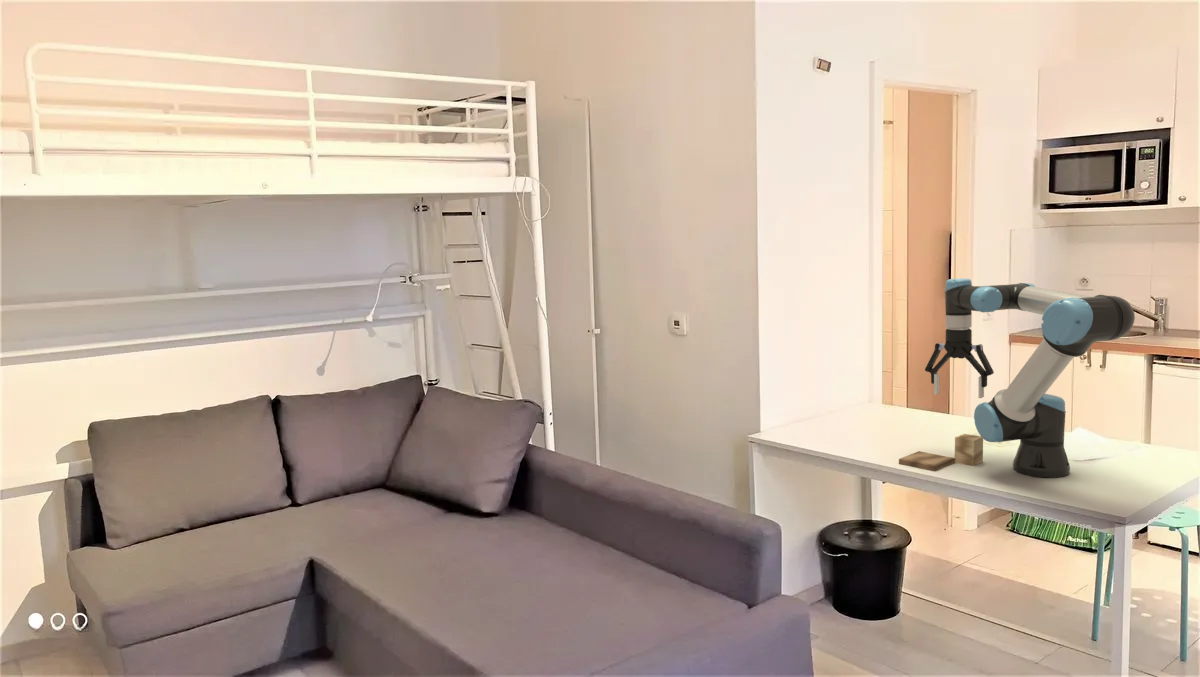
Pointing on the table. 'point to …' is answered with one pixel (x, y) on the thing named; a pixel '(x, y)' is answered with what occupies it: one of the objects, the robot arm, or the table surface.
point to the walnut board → (927, 461)
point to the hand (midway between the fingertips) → (958, 395)
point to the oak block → (968, 449)
